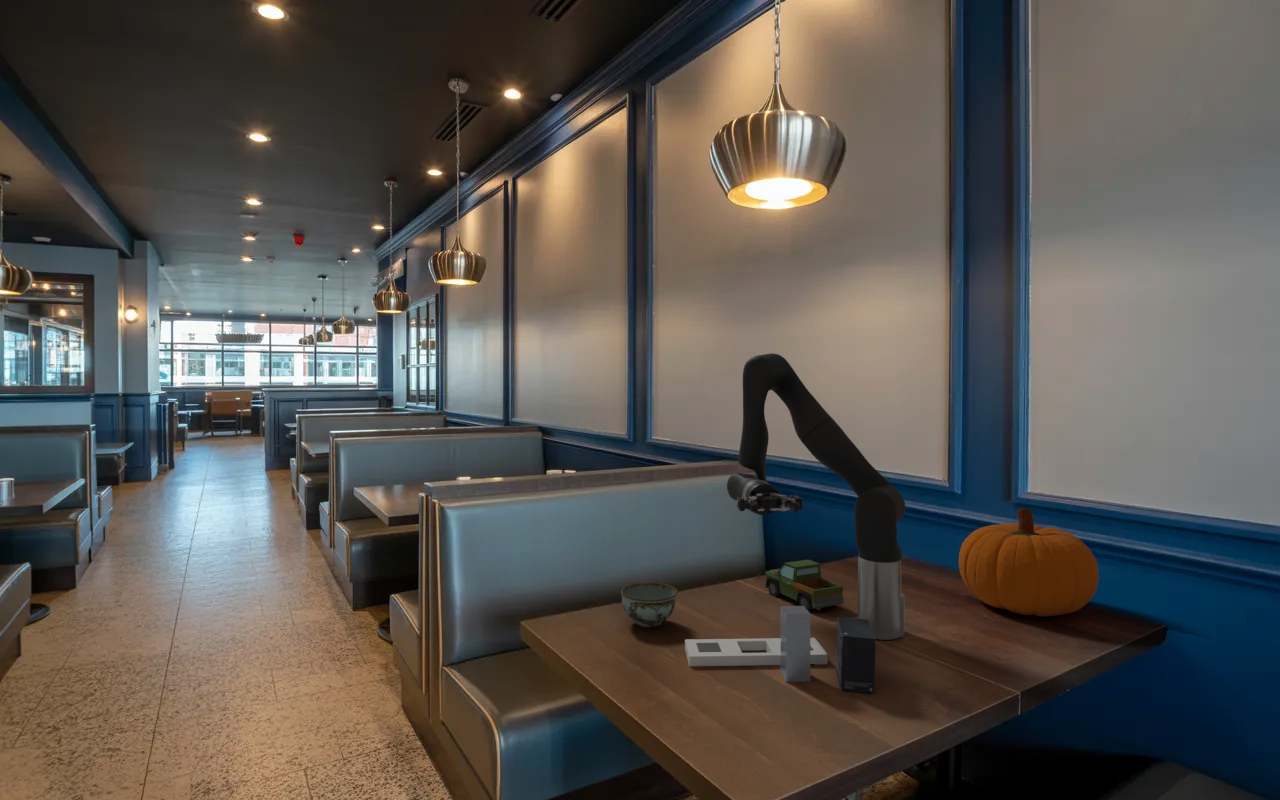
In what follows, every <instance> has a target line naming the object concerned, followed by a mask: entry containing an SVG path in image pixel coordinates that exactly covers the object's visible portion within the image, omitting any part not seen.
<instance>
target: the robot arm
mask: <svg viewBox="0 0 1280 800" xmlns="http://www.w3.org/2000/svg"><path fill="white" fill-rule="evenodd" d="M769 391H772V392H773V393H775V394H776V396H777V397H778V398H779V399H780V400H781V401H782V402H783V403H784V405H785V406H786V407H787V409H788V411H789V413H790V417H791V421H792V425H793V428H794V431H795V433H796V436H797V437H798V439H799V440H800V441H801V443H802V444H803V445H804V447H805V448H806V449H807V451H809V452H810V454H811V455H812V456H813V457H814V458H815V459H816V460H817V461H818V462H819V463H820V464H822V465H823V466H824V467H826V468H827V469H829V470H830V471H831V472H833V473H834V474H836V475H837V476H838V477H839V478H841V479H842V480H843V481H845V483H846V484H847V485H848V486H849V487H850V489H852V490H853V492H854V494H856V496H857V497H856V501H855V503H854V504H855V505H854V537H855V544H856V547H857V554H858V555H857V563H858V564H857V569H858V570H857V619H865V620H869V623H870V625H871V628H872V631H873V633H874V636H875V638H876V640H880V641H884V640H885V641H889V640H890V641H891V640H896V639H899V638H904V637H905V618H906V617H905V616H906V615H905V613H906V611H905V610H906V609H905V607H906V606H905V604H906V602H905V599H906V598H905V594H904V593H903V592H902V547H901V546H900V545H899V543H898V535H897V534H898V531H897V530H898V527H897V524H898V522H900V521H901V520H902V519H903V517H904V516H905V513H906V502H905V499H904V497H903V495H902V494H901V493H900V491H899V490H898V489H897V488H896V487H894V485H893V484H892V483H890V482H889V480H887V479H886V477H884V476H883V475H881V473H880V472H879V471H878V470H877V469H875V467H874V466H873V465H872V464H871V463H870V462H869V461H868V460H867V459H866V457H865V456H864V455H863V453H862V451H860V449H859V447H857V446H856V445H855V443H854V442H853V440H851V439H850V437H849V436H848V435H847V434H846V433H845V431H844V430H843V429H842V428H841V426H840V425H839V424H838V423H837V421H835V420H834V418H833V417H832V416H831V415H830V414H829V413H828V412H827V411H826V410H825V409H824V408H823V406H822V405H821V404H820V403H819V401H818V400H817V399H816V397H815V396H814V395H813V394H812V393H811V392H810V391H809V390H808V388H807V387H806V386H805V384H804V383H803V381H802V380H801V379H800V377H799V375H798V374H797V372H796V371H795V370H794V369H793V367H792V366H791V364H790V363H789V361H788V360H787V359H786V358H785V357H784V356H782V355H780V354H778V353H773V352H772V353H765V354H759V355H758V354H757V355H754V356H751V357H749V358H748V360H747V361H746V362H745V364H744V365H743V370H742V430H741V438H740V444H739V452H738V459H737V460H738V463H739V465H740V466H741V467H743V468H746V469H749V470H752V471H754V472H755V473H742V472H735V473H732V474H731V475H730V476H729V478H728V480H727V482H726V491H727V493H728V495H729V497H730V498H731V499H733V500H734V501H736V508H737V509H738V511H739V512H745V510H747V511H748V512H750V513H751V512H752V513H753V514H754V515H755V514H756V515H759V516H770V515H771V514H773V513H775V512H776V511H781V512H786V511H790V512H792V513H793V514H794V513H795V514H796V513H798V512H799V511H801V510H804V508H803V507H804V506H803V500H804V499H803V498H802V497H800V496H798V495H795V494H790V496H789V497H788V495H785V494H780V492H779V491H778V489H777V488H776V487H775V486H773V485H772V484H770V483H769V482H768V480H767V474H766V461H767V459H766V458H767V453H768V445H769V436H770V435H769V430H768V426H767V422H766V415H765V407H766V406H765V405H766V401H767V396H768V393H769Z"/></svg>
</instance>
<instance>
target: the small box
mask: <svg viewBox="0 0 1280 800" xmlns="http://www.w3.org/2000/svg"><path fill="white" fill-rule="evenodd" d="M836 624H837V625H836V627H837V628H836V629H837V630H836V631H837V632H836V633H837V635H836V658H835V659H836V662H835V669H836V675H837V680H838V686H839V691H844V692H845V691H846V692H854V693H855V692H856V693H857V692H858V693H866V694H875V690H876V689H875V687H876V684H875V682H876V645H877V644H876V642H877V641H876V640H877V639H876V638H875V636H874V633H873V631H872V628H871V625H870V623H869V620H865V619H858V618H853V617H844V616H837V617H836Z"/></svg>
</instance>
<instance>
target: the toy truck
mask: <svg viewBox="0 0 1280 800" xmlns="http://www.w3.org/2000/svg"><path fill="white" fill-rule="evenodd" d="M764 575H765V581H764V587H765V588H766V589H768V591H769V592H768V593H769V594H770V595H771V596H772V597H774V596H775V597H780V596H781V595H783V596H785V597H788V598H790V599H791V600H794V601H795V602H797V603H798V604H799V605H798V606H804V607H805V608H806V609H807V610H808V612H811V611H813V609H814V610H817V611H819V612H820V611H821V610H822V608H827V607H836V606H837V605H842V604H844V601H845V600H844V597H843V591H844V587H843V585H841V584H838V583H835V582H833V581H830V580H828V579H825V578H822V571H821V563H819V562H816V561H814V560H811V559H803V560H796V561H788V562H783V564H782V566H781V567H780V568H776V569H769V570H766V571H765V573H764Z"/></svg>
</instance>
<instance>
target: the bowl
mask: <svg viewBox="0 0 1280 800" xmlns="http://www.w3.org/2000/svg"><path fill="white" fill-rule="evenodd" d="M620 589H621V590H620V594H621V602H622V607H623V609H624V611H625V613H626V614H627V616H628V617H629V618H630V619H632V620H633V621H635V624H636V626H638V627H640V628H643V629H655V628H658V627H660V626H661V625H662V624H663V622H664V621H666V620H667V619H668V618H670V616H671V615H672V614H673V611H674V609H675V607H676V601H677V596H678V593H679V590H678V589H677V588H676V587H675V586H673V585H670V584H667V583H661V582H655V581H654V582H651V581H650V582H647V581H646V582H643V581H642V582H636V583H635V582H634V583H630V584H627V585H625V586H624V587H622V588H620Z"/></svg>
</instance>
